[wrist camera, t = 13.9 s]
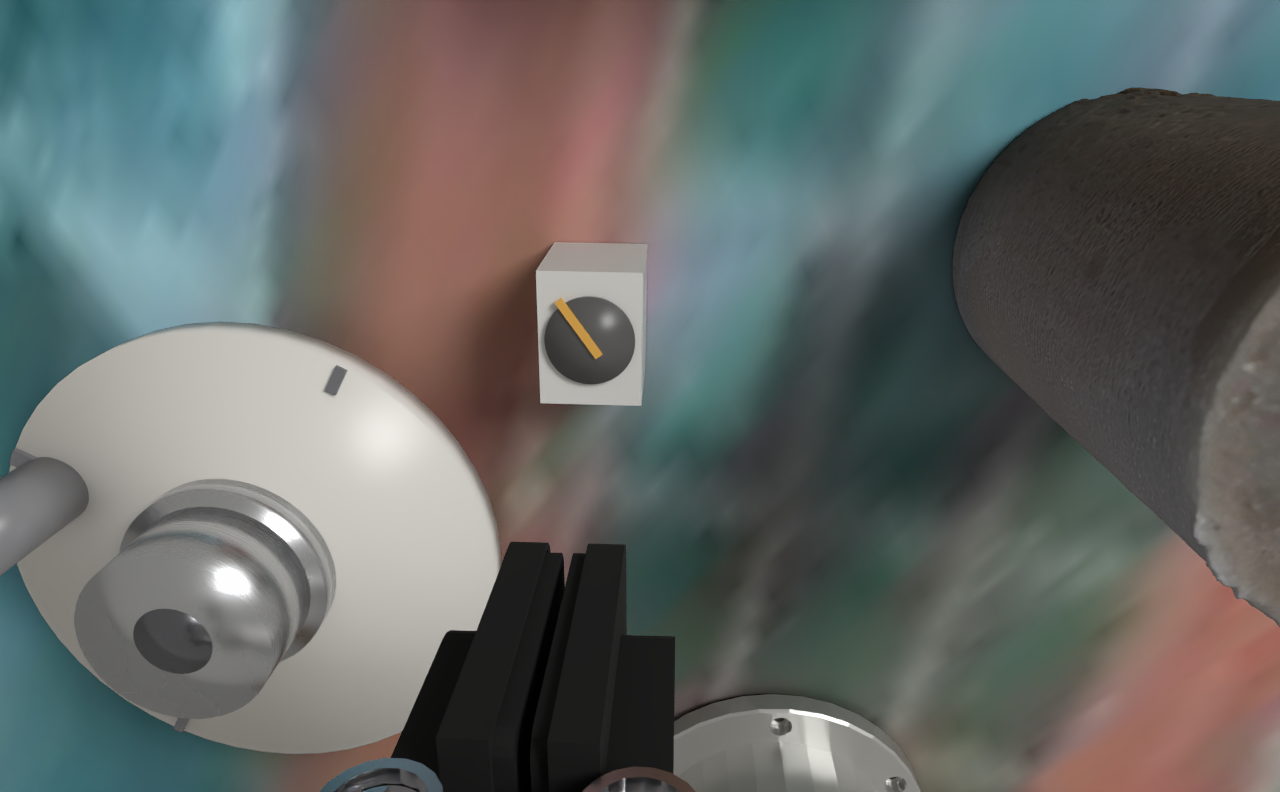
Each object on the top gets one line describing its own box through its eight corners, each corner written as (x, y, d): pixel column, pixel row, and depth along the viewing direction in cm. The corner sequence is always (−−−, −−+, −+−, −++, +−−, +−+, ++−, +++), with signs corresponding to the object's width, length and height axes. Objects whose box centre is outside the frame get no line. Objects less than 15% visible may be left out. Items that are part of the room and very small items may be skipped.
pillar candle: (1160, 15, 24) (1824, -50, 10) (1323, 262, 27) (2041, 481, 13) (885, 243, 27) (1115, 438, 13) (1056, 448, 29) (1404, 799, 15)
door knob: (370, 544, 29) (324, 617, 25) (287, 680, 31) (234, 764, 27) (179, 441, 28) (101, 501, 24) (107, 590, 30) (26, 666, 26)
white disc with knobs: (588, 460, 30) (567, 554, 24) (399, 774, 35) (346, 910, 30) (122, 219, 27) (-24, 261, 21) (1, 600, 33) (-140, 713, 27)
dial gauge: (645, 361, 29) (641, 408, 25) (557, 359, 29) (539, 406, 25) (647, 244, 27) (642, 275, 23) (554, 242, 27) (534, 272, 23)
